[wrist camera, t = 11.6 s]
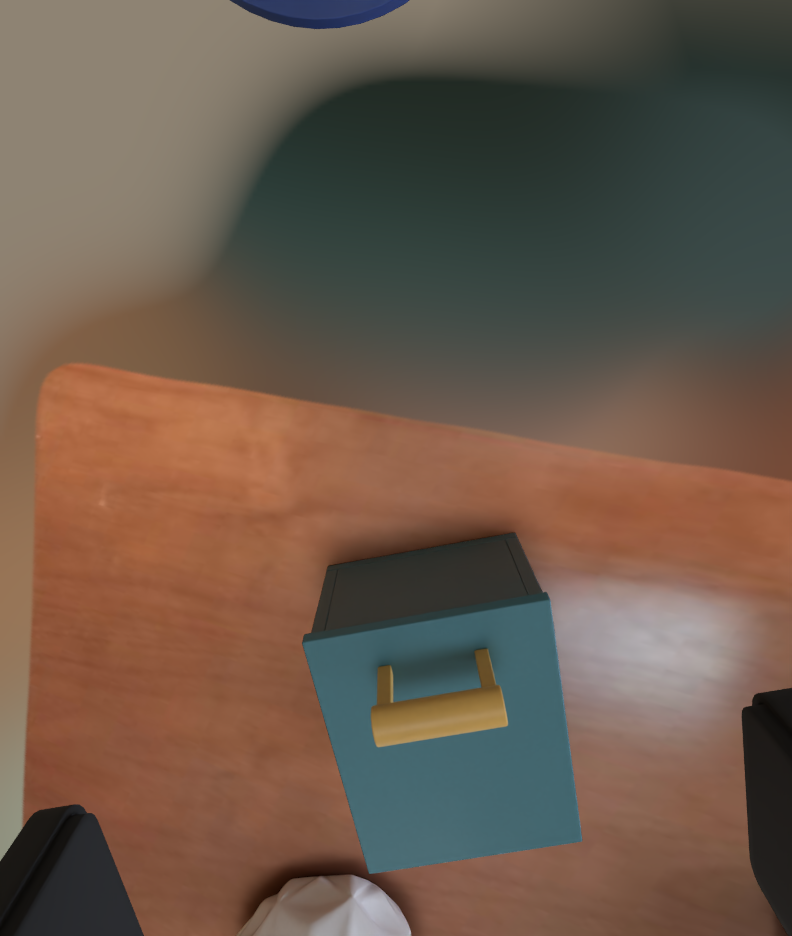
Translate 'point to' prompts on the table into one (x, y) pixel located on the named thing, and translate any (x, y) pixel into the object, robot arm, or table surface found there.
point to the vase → (328, 910)
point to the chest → (424, 582)
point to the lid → (449, 732)
